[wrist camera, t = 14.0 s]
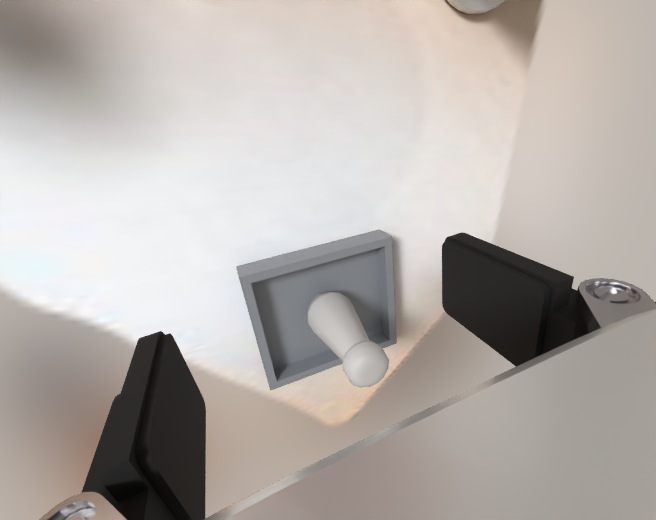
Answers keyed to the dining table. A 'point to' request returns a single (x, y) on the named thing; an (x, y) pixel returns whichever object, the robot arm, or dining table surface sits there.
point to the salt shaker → (347, 338)
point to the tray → (299, 290)
